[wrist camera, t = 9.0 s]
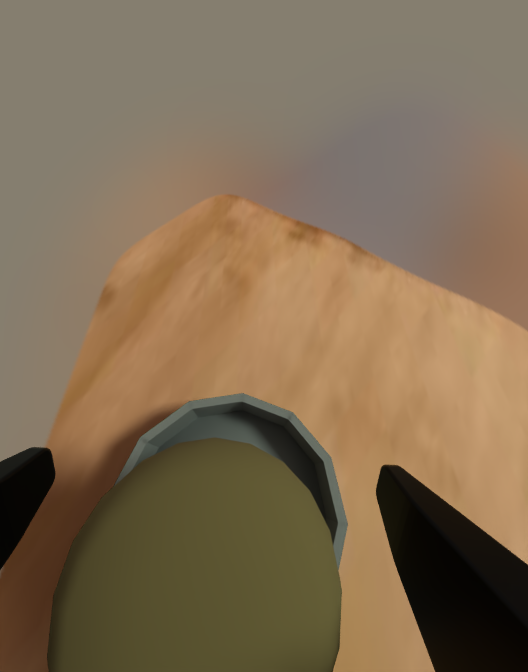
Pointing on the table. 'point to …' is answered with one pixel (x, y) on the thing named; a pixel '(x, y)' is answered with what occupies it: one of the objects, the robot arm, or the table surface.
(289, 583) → the cork
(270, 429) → the gray bowl
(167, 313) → the table surface
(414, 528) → the robot arm
